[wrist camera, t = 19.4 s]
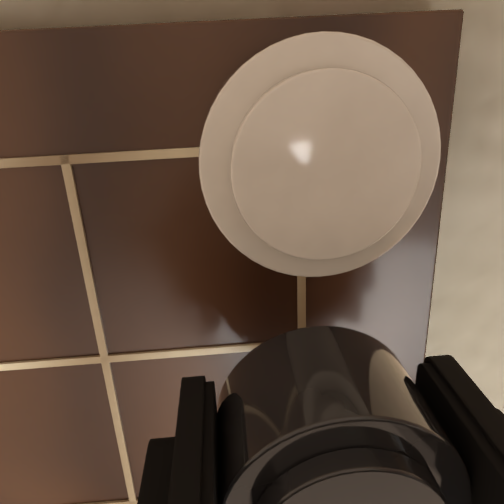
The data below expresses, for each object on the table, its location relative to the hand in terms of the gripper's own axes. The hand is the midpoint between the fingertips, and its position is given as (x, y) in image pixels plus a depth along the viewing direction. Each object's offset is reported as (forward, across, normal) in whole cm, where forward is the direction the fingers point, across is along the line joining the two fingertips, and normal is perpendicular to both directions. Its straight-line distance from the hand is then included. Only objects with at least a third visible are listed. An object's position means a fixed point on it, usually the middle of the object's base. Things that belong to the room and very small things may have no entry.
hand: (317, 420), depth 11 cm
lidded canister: (0, 0, 0) cm, 0 cm away
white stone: (+3, 0, -6) cm, 7 cm away
